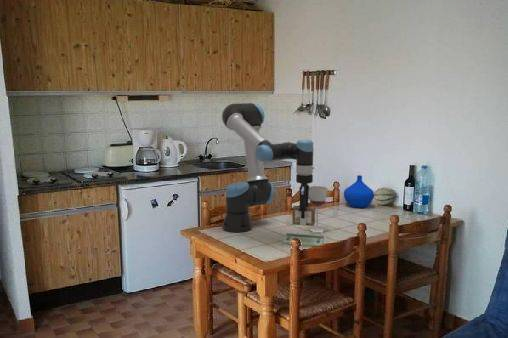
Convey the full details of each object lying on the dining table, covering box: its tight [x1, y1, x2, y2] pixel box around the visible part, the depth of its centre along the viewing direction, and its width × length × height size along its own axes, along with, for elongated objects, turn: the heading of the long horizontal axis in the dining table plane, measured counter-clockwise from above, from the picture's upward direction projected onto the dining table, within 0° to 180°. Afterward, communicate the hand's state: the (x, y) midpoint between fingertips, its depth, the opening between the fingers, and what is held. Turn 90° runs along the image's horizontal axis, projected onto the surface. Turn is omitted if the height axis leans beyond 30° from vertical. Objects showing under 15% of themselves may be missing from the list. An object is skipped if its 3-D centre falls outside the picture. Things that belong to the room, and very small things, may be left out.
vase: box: [343, 174, 375, 209], centre depth 283 cm, size 18×18×19 cm
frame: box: [291, 205, 316, 227], centre depth 213 cm, size 10×4×8 cm, turn 75°
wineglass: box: [308, 185, 328, 233], centre depth 232 cm, size 9×10×22 cm
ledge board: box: [281, 232, 325, 247], centre depth 215 cm, size 18×12×2 cm, turn 76°
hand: (303, 223), depth 214 cm, fingers closed on frame, 4 cm apart
